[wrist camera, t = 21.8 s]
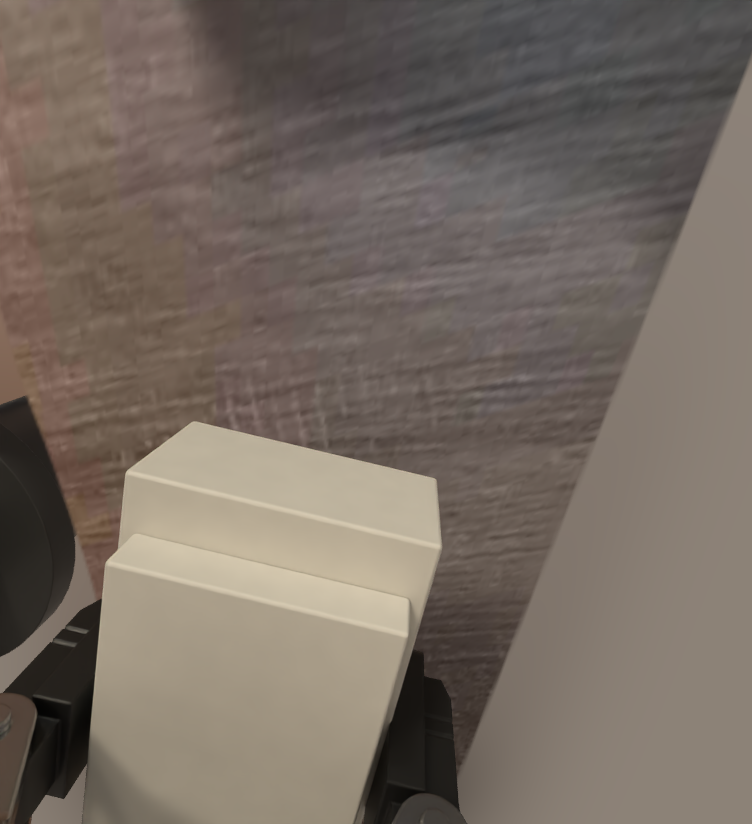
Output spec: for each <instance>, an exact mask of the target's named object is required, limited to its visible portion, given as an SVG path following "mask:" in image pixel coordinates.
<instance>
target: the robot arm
mask: <svg viewBox="0 0 752 824" xmlns="http://www.w3.org/2000/svg"><path fill="white" fill-rule="evenodd" d="M101 606H102V599H100V600H98V601H96V602H94V603H93V604H91V605H89V606H87V607H85V608H83V609H82V610H80V611H79V612H78V613H77V614H76V616H75V617H74V618H73V619H72V620H71V621H70V622H69V623H68V624H67V625H66V627H65V629H63V630H62V631H61V632H60V633H59V634H58V635H57V636H56V637H55V638H54V639H53V642H52V643H51V642H50V643H49V644H48V645H47V646H46V647H45V648H44V650H43V651H42V652H41V653H40V654H39V655H38V656H37V657H36V658H35V659H34V660H33V661H32V662H31V663H30V664H29V665H28V667H27V668H26V669H25V670H24V671H23V672H22V673H21V674H20V675H19V676H18V677H17V678H16V679H15V680H14V682H12V684H11V685H10V686H9V687H8V688H7V689H6V690H5V691H4V692H3V693H0V824H31V818H32V814H33V812H34V811H35V809H36V808H37V807H38V805H39V804H40V802H41V801H42V799H43V798H44V796H45V795H50V796H54V797H58V798H62V799H64V798H65V797H66V795H67V794H68V792H69V790H70V789H71V787H72V786H73V784H74V783H75V781H76V780H77V778H78V777H79V775H80V773H81V772H82V770H83V769H84V767H85V766H86V764H87V760H88V749H89V738H90V727H91V716H92V705H93V694H94V683H95V672H96V661H97V650H98V639H99V628H100V617H101ZM453 737H454V735H453V724H452V708H451V699H450V697H449V695H448V693H447V691H446V689H445V687H444V685H443V683H442V681H441V680H437V679H433V678H429V677H425V676H424V655H423V652H420V651H416V650H412V654H411V657H410V661H409V664H408V667H407V671H406V674H405V678H404V681H403V684H402V688H401V691H400V695H399V698H398V701H397V705H396V708H395V711H394V715H393V718H392V721H391V723H390V725H389V728H388V731H387V735H386V738H385V742H384V745H383V748H382V752H381V755H380V759H379V762H378V765H377V769H376V772H375V776H374V779H373V782H372V786H371V789H370V793H369V796H368V799H367V803H366V806H365V814H364V824H467V823H466V821H465V819H464V818H463V816H462V814H461V813H460V810H459V803H458V791H457V790H458V789H457V775H456V762H455V748H454V741H453Z"/></svg>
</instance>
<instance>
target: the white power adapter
mask: <svg viewBox="0 0 752 824" xmlns="http://www.w3.org/2000/svg"><path fill="white" fill-rule="evenodd" d="M441 552H442V538H441V526H440V513H439V501H438V489H437V480H436V479H434V478H431V477H426V476H422V475H418V474H414V473H410V472H405V471H401V470H397V469H393V468H389V467H384V466H380V465H376V464H372V463H368V462H363V461H359V460H355V459H351V458H347V457H342V456H338V455H334V454H330V453H326V452H321V451H317V450H313V449H309V448H305V447H300V446H296V445H292V444H288V443H284V442H279V441H275V440H271V439H267V438H263V437H258V436H254V435H250V434H246V433H242V432H237V431H233V430H229V429H225V428H221V427H216V426H212V425H208V424H204V423H200V422H191V423H190V424H189V425H187V426H186V427H185V428H183V429H182V430H181V431H179V432H178V433H177V434H175V435H174V436H173V437H171V438H170V439H169V440H167V441H166V442H165V443H163V444H162V445H161V446H159V447H158V448H157V449H155V450H154V451H153V452H151V453H150V454H149V455H147V456H146V457H145V458H143V459H142V460H141V461H139V462H138V463H137V464H135V465H134V466H133V467H131V468H130V469H129V470H127V472H126V474H125V483H124V493H123V504H122V514H121V524H120V534H119V545H118V550H117V551H116V552H115V553H114V554H113V555H112V556H111V557H110V558H109V559H108V560H107V562H106V564H105V572H104V584H103V595H102V606H101V617H100V628H99V639H98V650H97V661H96V672H95V683H94V694H93V705H92V716H91V727H90V738H89V749H88V760H87V772H86V782H85V793H84V805H83V815H82V824H361V823H362V820H363V817H364V813H365V806H366V803H367V799H368V796H369V793H370V789H371V786H372V782H373V779H374V776H375V772H376V769H377V765H378V762H379V759H380V755H381V752H382V748H383V745H384V742H385V738H386V735H387V731H388V728H389V725H390V723H391V721H392V718H393V715H394V711H395V708H396V705H397V701H398V698H399V695H400V691H401V688H402V684H403V681H404V678H405V674H406V671H407V667H408V664H409V661H410V657H411V654H412V650H413V647H414V644H415V640H416V637H417V633H418V630H419V627H420V623H421V620H422V616H423V613H424V610H425V606H426V603H427V600H428V596H429V593H430V589H431V586H432V583H433V579H434V576H435V572H436V569H437V566H438V562H439V559H440V555H441Z"/></svg>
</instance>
